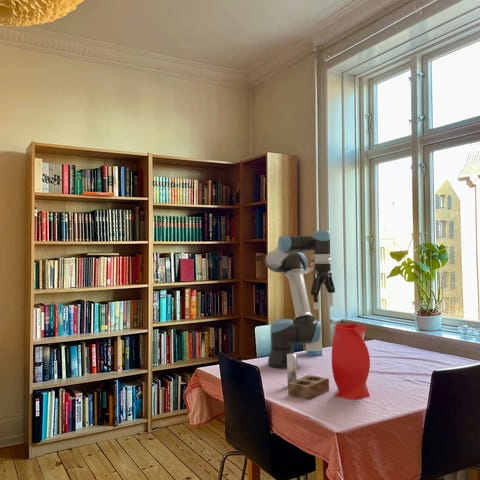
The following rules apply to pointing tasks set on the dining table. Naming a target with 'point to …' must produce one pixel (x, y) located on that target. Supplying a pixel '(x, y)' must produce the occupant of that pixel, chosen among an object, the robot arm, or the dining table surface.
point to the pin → (291, 367)
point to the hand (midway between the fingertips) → (323, 307)
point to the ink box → (314, 347)
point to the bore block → (308, 387)
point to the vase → (350, 361)
